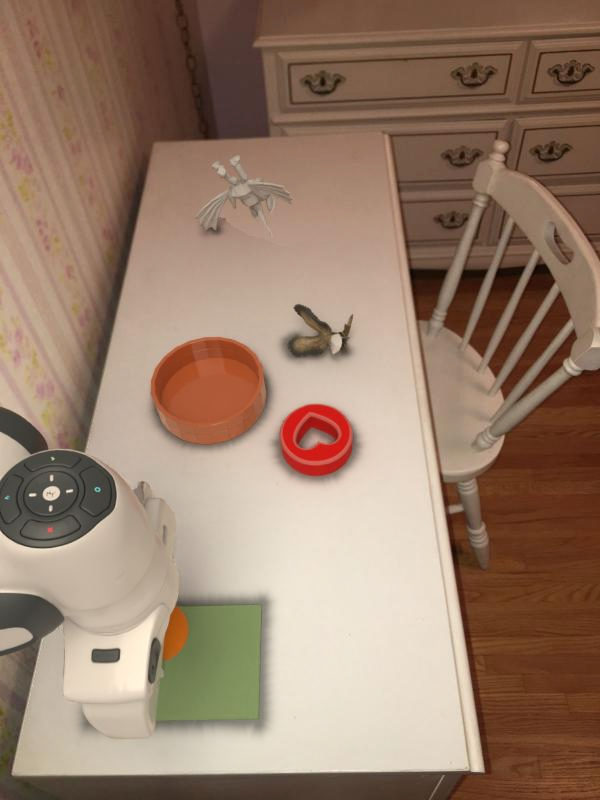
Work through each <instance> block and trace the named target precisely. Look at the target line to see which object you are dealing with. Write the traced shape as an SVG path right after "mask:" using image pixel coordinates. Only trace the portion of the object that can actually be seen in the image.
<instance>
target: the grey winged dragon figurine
mask: <svg viewBox="0 0 600 800" xmlns="http://www.w3.org/2000/svg"><path fill="white" fill-rule="evenodd" d="M241 159H242V157H241V156H240V154H237V155H235V156H234V157H231V158H230V159H229V163H230V167H232V168H233V170H234V171H235V173H236V174H237V176H238V177H239V178H240V180H239V179H238V178H237V177H236V176H235V175H232V176H230V174H228V171H227V170H226V169H225V166H224V165H223V164H221V162H220V161H219V160H217V161H215V162H213V163H212V165H211V167H210V168H211V169H212V170H215V171H216V173H217V175H218V176H219V178H220V179H224V180H225V181H226V182H227V183H228V184H229V185H230V186H229V188H228V189H226V190H224V191H222V192H221V193H219V194H217V195H216V196H214V197H213V198H212V199H211V200H210V201H209V202H207V203H206V204H205V205H204V206H203V207H201V209H200V210H199V211H198V213H197V214H196V215H195V216H194V219H195V220H197V221H198V226H203V228H204V229H205V231H207V230H208V229H210V228H212V229H213V230H214V231H217V228H218V221H219V219H220V215H221V210H222V209H223V207H224V206H225V203H226V202H227V200H229V202H230V204H231V205H232V208H233V209H235V210H236V209H237V199H238V200H240V202H241V203H242V205H244V206H245V207H248V209H249V211H250V214H251V216H252V218H253V219H254V220H256V221H258V222H260V220H259V217H260V219H261V221H262V222H263V224H264V226H265V228H266V229H267V230H268V233H269V235H270V237H271V239H273V238H274V232H273V231H272V229H271V228H270V226H269V225H268V222H267V217H266V215H265V211H264V208H263V205H262V203H261V202H264V201H265V204H266V205H265V206H266V208H267V210H268V212H269V217H271V216H272V214H273V212H274V211H275V209H276V207H277V201H278V199H280V200H282V201H284V203H285V202H286V203H288V204H290V205H292V206H293V205H294V204H293V202H292V201H295V199H294V198H293V197H292V196H291V195H292V193H291V192H289V191H288V190H286V189H284V188H285V186H284V185H282V184H276V183H272V182H266V181H264V178H263V177H256V178H255V179H254V178H252V179H248V178H249V175H247V173H246V171H245V170H244V168H243V166H242V165H241V163H242V162H243V161H242V160H241ZM272 196H273V197H275V198H272Z"/></svg>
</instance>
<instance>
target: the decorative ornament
mask: <svg viewBox="0 0 600 800" xmlns="http://www.w3.org/2000/svg"><path fill="white" fill-rule="evenodd" d="M310 429H315V430H318V431H321V432H324V433H326V434H327V435H329V436H331V437H332V438H333V439H334V442H330V443H324V442H321V441H320V440H318V441H317V443H316V444H315V445H314V446H312V447H309V448H303V447H301V446H300V445H299V444H300V442H301V440H302V439H303V437H304V436H305V435H306V434H307V432H309V430H310ZM353 434H354V433H353V426H352V424H351V422H350V421H349V419H348V418H347V416H346V415H345V414H344V413H343V412H342V411H340V410H339V409H338V408H335V407H333V406H332V405H327V404H323V403H309V404H304V405H302V406H299V407H298V408H296V409H294V410H293V411H291V412H290V413H289V414H288V415H287V416H286V417H285V418H284V420H283V421H282V424H281V426H280V430H279V443H280V449H281V453H282V456H283V458H284V460H285V462H286V463H287V464H288V465H289V467H290V468H292V469H293V470H294V471H296V472H297V473H299V474H302V475H305V476H311V477H321V476H327V475H329V474H330V475H331V474H333V473H335V472H337V471H338V470H340V469H342V468H343V466H345V464H346V463H347V462H348V461H349V460H350V458H351V455H352V451H353V441H354V440H353V439H354V437H353Z"/></svg>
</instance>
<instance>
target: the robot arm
mask: <svg viewBox="0 0 600 800" xmlns="http://www.w3.org/2000/svg"><path fill="white" fill-rule="evenodd" d="M177 522H178V521H177V517H176V514H175V512H174V510H173V509H172V507H171V506H170V505H169V503H168V501H166V500H165V499H164V498H162V497H154V493H153V490H152V488H151V486H150V483H148V481H144V480H141V481H139V482H137V485H136V487H135V488H134V489H132V488H131V486H130V484H128V482H127V481H126V480H125V479H124V478H123V477H122V476H121V475H120V474H119V473H118V472H117V471H116V470H115V469H113V467H111V466H110V465H109V464H107V463H105V462H103V461H102V460H100V459H98V458H97V457H95V456H93V455H91V454H88V453H86V452H83V451H80V450H75V449H70V448H53V449H49V445H48V442H47V440H46V438H45V436H43V433H41V432H40V431H39V430H38V429H37V427H35V426H34V424H32V423H31V422H30V421H29V420H27V419H26V418H25V417H23V416H22V415H20V414H19V413H17V412H15V411H13V410H11V409H9V408H7V407H3V406H0V657H3V656H7V655H10V654H14V653H16V652H18V651H21V650H24V649H26V648H29V647H31V646H32V645H34V644H36V643H37V642H39V641H40V640H42V639H44V638H45V637H46V636H48V635H50V634H51V633H53V632H54V631H55V630H56V629H57V628H59V627H60V626H62V633H63V643H64V645H63V647H64V649H63V675H62V678H63V679H62V694H63V698H64V699H65V700H66V701H67V702H69V703H76V704H81V709H82V712H83V714H84V717H85V719H86V720H87V721H88V723H89V724H90V725H91V726H92V727H93V728H94V729H96V730H97V731H98V732H99V733H100V734H102V735H103V736H105V737H107V738H109V739H114V740H142V739H148V738H149V739H150V738H151V737H152V736H153V733H154V731H155V727H156V722H157V721H156V711H157V702H158V693H159V684H160V678H162V677H164V669H165V660H164V659H163V658H162V657H163V648H164V639H165V633H166V630H167V627H168V624H169V620H170V614H171V613H172V611H173V609H174V607H175V605H176V606H177V603H178V598H179V594H180V586H181V585H180V575H179V572H178V568H177V565H176V564H175V561H174V558H175V557H174V556H175V548H176V539H177V530H178V524H177Z"/></svg>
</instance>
